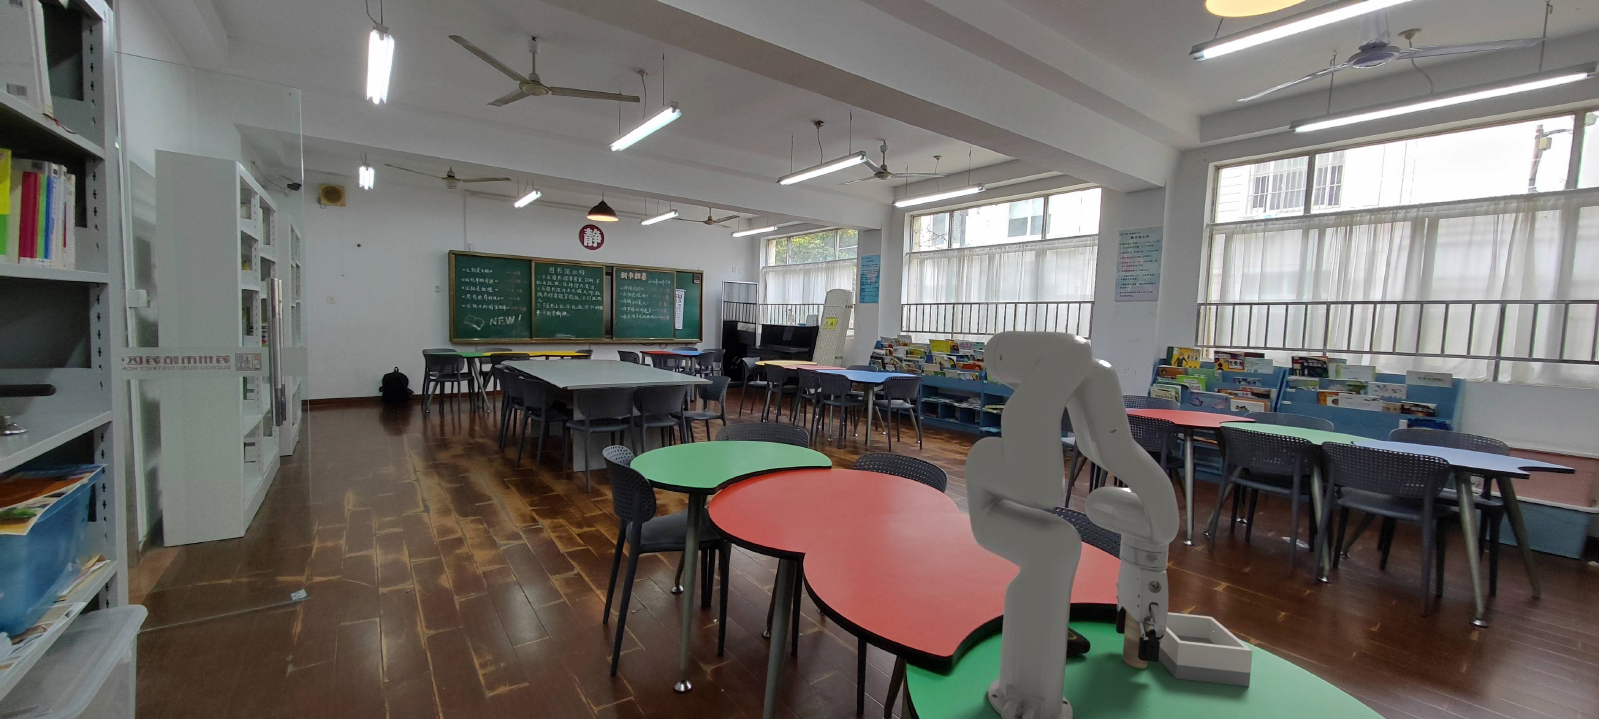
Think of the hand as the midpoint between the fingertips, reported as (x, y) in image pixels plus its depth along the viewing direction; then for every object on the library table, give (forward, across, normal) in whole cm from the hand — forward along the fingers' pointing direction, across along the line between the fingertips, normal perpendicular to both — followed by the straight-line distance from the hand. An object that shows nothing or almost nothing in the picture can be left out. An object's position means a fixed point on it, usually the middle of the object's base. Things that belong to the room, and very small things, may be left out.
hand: (1136, 645), depth 105 cm
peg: (+3, 0, 0) cm, 3 cm away
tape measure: (+4, +2, +12) cm, 12 cm away
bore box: (+3, +2, -11) cm, 12 cm away
